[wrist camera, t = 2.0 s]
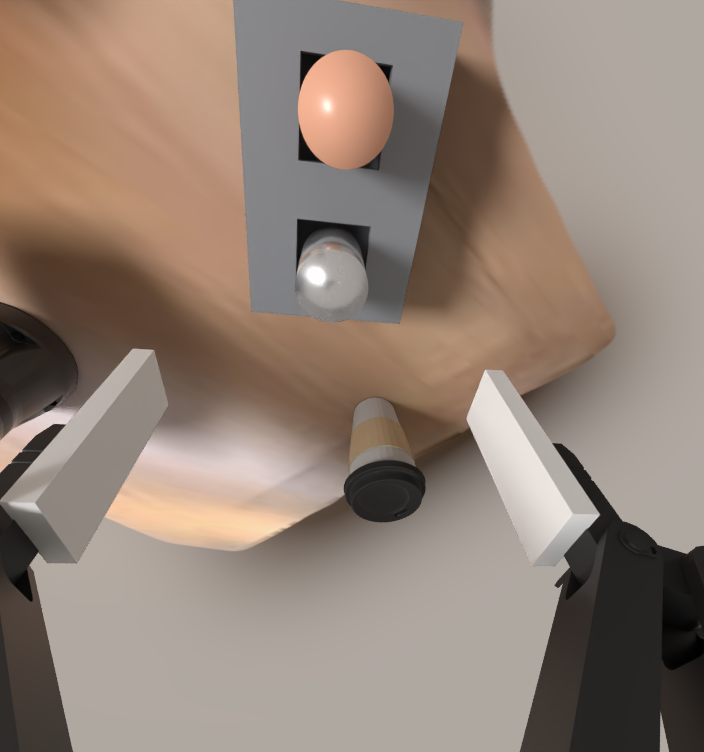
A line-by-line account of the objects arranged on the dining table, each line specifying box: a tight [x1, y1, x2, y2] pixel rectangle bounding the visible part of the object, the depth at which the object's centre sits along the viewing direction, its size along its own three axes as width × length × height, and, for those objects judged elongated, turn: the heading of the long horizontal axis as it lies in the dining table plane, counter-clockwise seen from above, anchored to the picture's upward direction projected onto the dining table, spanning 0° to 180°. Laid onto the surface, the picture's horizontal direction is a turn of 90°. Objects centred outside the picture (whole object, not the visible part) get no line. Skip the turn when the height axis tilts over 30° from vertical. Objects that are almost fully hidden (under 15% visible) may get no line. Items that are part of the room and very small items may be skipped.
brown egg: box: [298, 50, 394, 170], centre depth 22 cm, size 5×5×7 cm
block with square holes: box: [233, 0, 463, 324], centre depth 31 cm, size 21×14×8 cm, turn 174°
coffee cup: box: [344, 397, 425, 522], centre depth 45 cm, size 9×9×15 cm
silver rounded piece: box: [295, 226, 368, 322], centre depth 28 cm, size 5×5×7 cm
